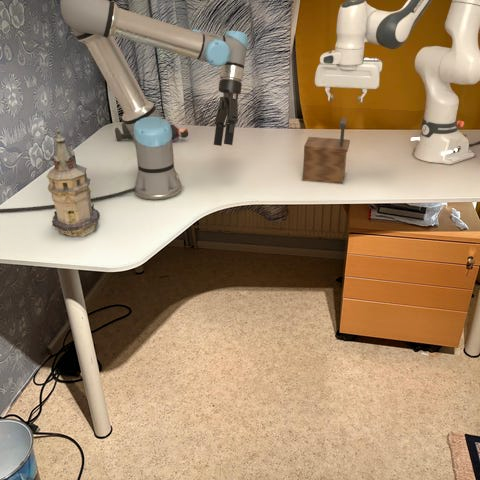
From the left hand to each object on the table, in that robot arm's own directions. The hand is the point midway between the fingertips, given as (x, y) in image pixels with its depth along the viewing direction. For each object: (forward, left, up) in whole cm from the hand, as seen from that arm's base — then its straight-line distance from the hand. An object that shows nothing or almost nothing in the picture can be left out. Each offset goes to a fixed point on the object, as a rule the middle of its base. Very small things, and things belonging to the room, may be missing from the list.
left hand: (222, 145), depth 180 cm
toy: (-26, +46, -12) cm, 54 cm away
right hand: (+40, -4, +14) cm, 43 cm away
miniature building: (-44, -32, -12) cm, 56 cm away
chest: (+35, -2, -12) cm, 37 cm away
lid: (+35, -2, -1) cm, 35 cm away
